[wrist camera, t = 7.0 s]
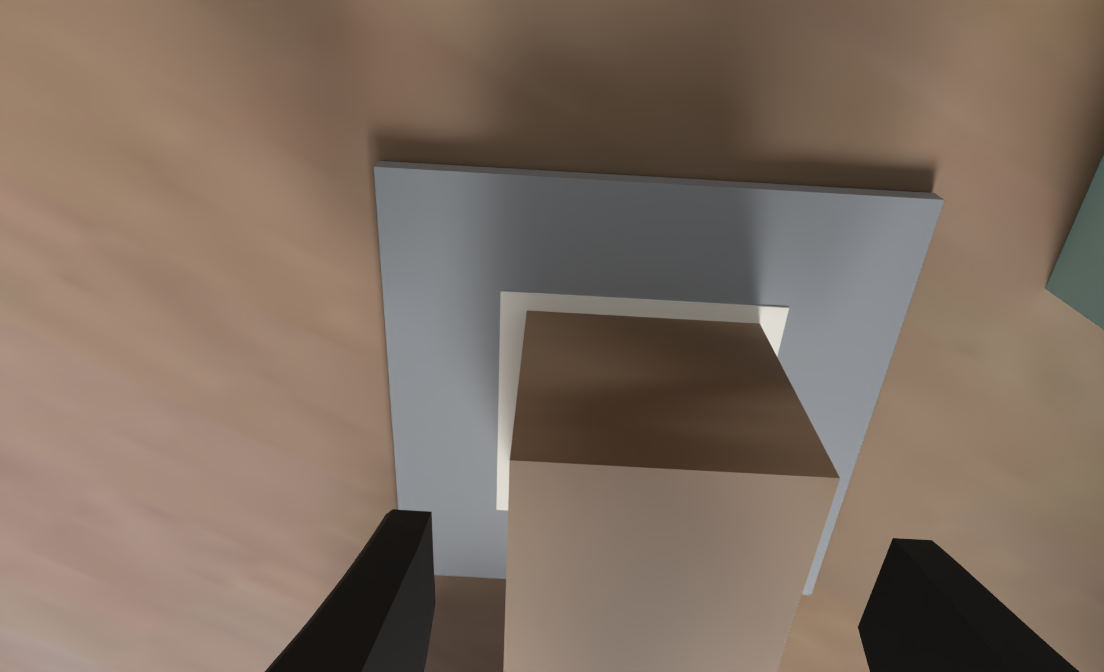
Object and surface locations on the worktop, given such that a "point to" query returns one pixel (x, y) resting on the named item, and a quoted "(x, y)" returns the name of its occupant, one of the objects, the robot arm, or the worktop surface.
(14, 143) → the worktop surface
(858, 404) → the grey square plate
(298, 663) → the robot arm
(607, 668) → the walnut block
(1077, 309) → the teal block
